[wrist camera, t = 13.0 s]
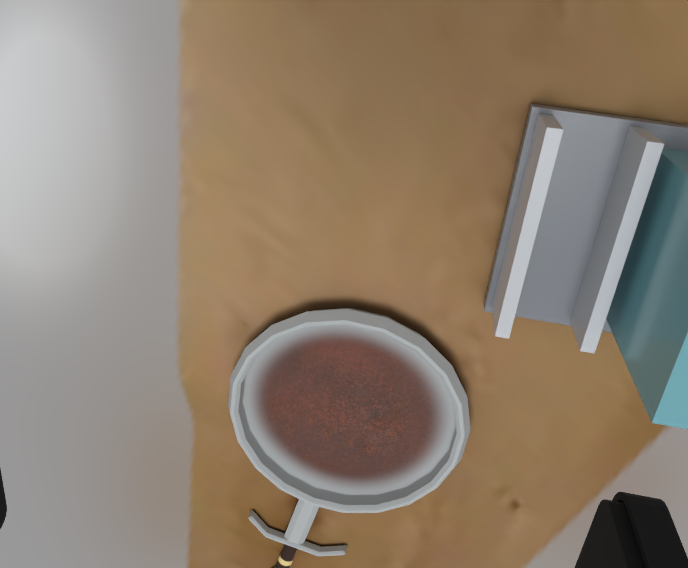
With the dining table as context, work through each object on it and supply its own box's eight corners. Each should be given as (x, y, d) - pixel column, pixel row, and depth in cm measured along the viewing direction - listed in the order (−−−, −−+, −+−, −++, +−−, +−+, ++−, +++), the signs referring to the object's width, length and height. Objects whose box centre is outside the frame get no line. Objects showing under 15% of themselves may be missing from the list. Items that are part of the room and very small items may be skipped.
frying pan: (175, 560, 53) (256, 279, 40) (188, 533, 56) (269, 259, 43) (368, 632, 53) (514, 373, 40) (373, 601, 56) (511, 348, 43)
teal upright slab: (654, 146, 35) (733, 215, 25) (701, 153, 34) (799, 225, 25) (602, 310, 39) (651, 422, 29) (643, 316, 39) (706, 432, 29)
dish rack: (530, 103, 36) (540, 120, 32) (741, 132, 34) (779, 153, 30) (483, 303, 41) (486, 339, 37) (664, 334, 40) (687, 373, 36)
